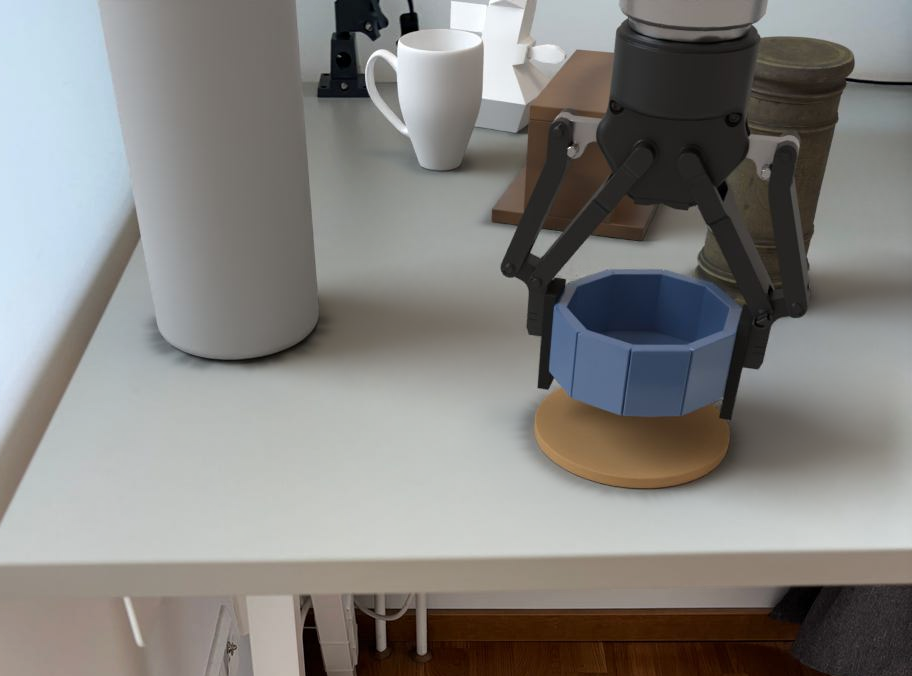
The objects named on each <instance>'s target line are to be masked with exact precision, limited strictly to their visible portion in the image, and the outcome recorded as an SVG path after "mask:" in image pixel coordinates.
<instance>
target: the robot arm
mask: <svg viewBox="0 0 912 676" xmlns="http://www.w3.org/2000/svg"><path fill="white" fill-rule="evenodd" d="M768 3H769V0H618V6H619V9H620V11H621V12H622V14H623V15H625V16H626V17H627V18H626V19H624V20H623V21H622V22H621V24H620V25H619V26H618V27H617V28H616V30H615V37H614V46H613V47H614V48H613V53H614V56H613V66H612V75H611V85H610V94H609V103H608V107H607V110H606V113H605V115H604V117H603V118H602V119H600V118H591V117H582V116H578V114H577V112H576V111H575V110H574V109H571V108H565V109H564V110H562V111H561V112H560V114H559V115H558V116H557V117H556V119H555V120H554V121H553V123H552V124H551V125H550V127H549V131H548V143H547V156H546V163H545V165H544V167H543V170H542V172H541V174H540V176H539V179H538V181H537V183H536V186H535V188H534V190H533V192H532V195H531V197H530V199H529V202H528V204H527V206H526V208H525V211H524V213H523V215H522V217H521V220H520V222H519V224H518V225H517V226H516V229H515V231H514V234H513V236H512V238H511V240H510V243H509V245H508V246H507V247H508V248H507V249H506V251H505V254H504V256H503V259H502V261H501V263H500V267H499V269H500V272H501V274H502V276H504V277H505V278H509V279H513V278H516V279H518V280H520V281H521V282H522V283H524V284H525V285H526V287H527V291H528V296H527V313H526V325H525V326H526V330H527V333H528V336H534V337H540V348H539V350H540V351H539V361H538V375H537V386H536V387H537V388H536V389H539V390H546V391H549V389H550V388H551V386H552V384H553V381H554V380H555V378H554V377H553V376H552V374H551V373H550V372H549V362H550V349H551V337H552V325H553V313H554V306H555V304H556V302H557V301H558V299H559V297H560V295H561V293H562V292H563V290H564V288H565V286H566V284H567V278H562V277H556V276H557V275H558V274H559V272H561V270H562V269H563V268H564V267H565V266H566V264H567V263H568V262H569V261H570V260H571V258H572V257H573V256H574V255H575V254H576V253H577V251H578V250H579V249H580V248H581V246H583V244H584V243H585V242H586V241H587V240H588V238H590V236H591V235H592V232H593V231H594V230H595V229H596V228H597V227H598V225H599V224H600V223H601V222H602V221H603V219H604V218H605V217H606V216H607V215H608V214H609V213H610V212H611V211H612V210H613V209H614V208H615V207H616V205H617V204H618V203H619V202H620V201H621V200H622V198H623V197H624V196H625V195H627V196H628V197H629V198H631V199H632V200H635V201H634V204H638V205H646V206H648V205H655V204H659V205H664V206H666V207H669V208H670V209H674V210H679V211H689V209H690V208H693V207H697V209H698V210H699V213H700V215H701V217H702V219H703V221H704V223H705V224H706V226H707V225H708V226H709V227H710V228H711V230H712V232H713V234H714V236H715V238H716V240H717V243H718V245H719V247H720V249H721V251H722V253H723V255H724V257H725V260H726V262H727V264H728V266H729V268H730V270H731V272H732V274H733V276H734V279H735V281H736V283H737V285H738V287H739V289H740V291H741V293H742V296H743V298H744V300H745V302H746V304H743V308H742V312H741V315H740V319H739V323H738V327H737V334H736V339H735V343H734V348H733V353H732V358H731V363H730V368H729V373H728V377H727V382H726V387H725V392H724V396H723V398H722V399H721V400H722V401H721V406H720V410H719V411H720V415H719V418H720V419H726V421H727V420H728V421H731V420H732V417H733V413H734V409H735V405H736V401H737V396H738V391H739V387H740V382H741V378H742V373H743V369H744V368H745V369H750V370H751V369H752V370H757V371H758V370H760V368H761V367H762V365H763V363H764V361H765V356H766V351H767V346H768V343H769V338H770V333H771V329H772V327H773V324H774V323H775V322H776V321H777V320H779V319H782V318H787V317H790V318H792V319H799V318H802V317H804V316H805V315H806V314H807V312H808V310H809V303H810V298H811V297H810V296H811V290H812V289H811V282H810V275H809V271H808V268H807V261H806V255H805V248H804V241H803V234H802V227H801V220H800V213H799V206H798V200H797V193H796V186H795V179H794V171H795V166H796V162H797V157H798V152H799V148H800V140H801V139H800V136H799V135H798V134H797V133H796V132H794V131H787V132H785V133H783V134H782V135H781V136H780V137H775V136H764V135H754V134H751V132H750V129H749V126H748V122H747V111H748V105H749V100H750V94H751V89H752V84H753V78H754V73H755V67H756V62H757V56H758V51H759V46H760V40H761V38H762V37H761V35H760V34H759V31H758V29H757V27H755V26H754V24H756V23H758V22H759V21H760V20H761V19H762V18H763V17H764V16H765V15H766V13H767V10H768V9H767V8H768V5H769V4H768ZM591 142H597V144H598V146H599V148H600V150H601V152H602V154H603V156H604V157H605V159H606V161H607V163H608V165H609V167H610V169H611V170H612V172H611V174H610V175H609V176H608V177H607V178H606V180H605V181H604V182H603V184H602V185H601V186H600V188H599V189H598V190H597V191H596V193H595V194H594V195H593V196H592V197H591V199H590V200H589V201H588V202H587V203H586V205H585V206H584V207H583V208H582V209H581V211H580V212H579V213H578V214H577V216H576V217H575V218H574V219H573V220H572V222H571V223H570V224H569V225H568V226H567V228H566V229H565V230H564V231H561V234H560V235H559V236H558V237H557V238H556V240H555V241H554V242H553V243H552V244H551V245H550V247H549V248H548V250H547V251H546V252H545V253H544V254H543V255H542V256H541V257H539V256H538V255H535V254H533V253H532V250H533V247H534V246H535V244H536V241H537V239H538V237H539V235H540V233H541V230H542V229H543V228H542V226H543V224H544V222H545V219H546V217H547V215H548V213H549V211H550V208H551V206H552V204H553V202H554V200H555V198H556V195H557V193H558V191H559V189H560V187H561V184H562V182H563V180H564V178H565V176H566V173H567V171H568V169H569V167H570V165H571V162H572V160H573V159H576V158H579V157H580V156H581V155H582V154H583V153H584V151H585V150H586V148H587V145H588V144H589V143H591ZM745 158H748V159H751V160H753V161H754V163H755V164H756V169H757V174H758V176H759V178H761V179H762V180H765V181H769V186H768V198H769V206H770V213H771V219H772V225H773V231H774V238H775V244H776V250H777V256H778V263H779V269H780V275H781V281H782V287H783V288H781V289H776V290H775V289H774V286H773V284H772V282H771V280H770V278H769V275H768V273H767V271H766V269H765V267H764V264H763V262H762V260H761V258H760V256H759V253H758V251H757V249H756V247H755V245H754V242H753V240H752V238H751V236H750V234H749V231H748V229H747V227H746V225H745V223H744V221H743V218H742V216H741V214H740V212H739V210H738V207H737V205H736V203H735V199H734V194H733V191H732V189H731V187H730V184H729V182H728V180H727V177H728V176H729V175H730V174H731V173H732V172H733V171H734V170H735V169H736V168H737V167H738V166H739V165H740V164H741V163H742V162H743V161H744V160H745Z"/></svg>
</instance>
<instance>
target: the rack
mask: <svg viewBox="0 0 912 676" xmlns="http://www.w3.org/2000/svg"><path fill="white" fill-rule="evenodd" d="M613 56H614V52H611V51H600V50H599V51H598V50H590V49H578V48H577V49H575V51H574V52H573V53H572V55H570V57H568V59H567V60H566V61H565V62H564V64H563V65H562V66H561V67H560V68H559V70H558V71H557V72H556V73H555V74H554V76H552V78H551V79H550V82H549V83H548V84H547V85H546V86H545V88H544V89H543V90H542V91H541V92H540V94H539V95H538V96H537V97H536V98H535V100H534V101H533V102H532V103H531V104H530V110H529V124H528V129H527V130H528V131H527V143H526V144H527V147H526V161H525V165H523V167H522V168H521V170H519V172H518V173H517V175H516V176H515V178H514V179H513V180H512V182H511V183H510V184H509V185H508V187H507V189H506V190H505V191H504V192H503V194H502V195H501V196H500V198H499V199H498V200H497V202H496V203H495V204H494V206H493V207H492V209H491V222H492V223H498V224H499V223H501V224H509V225H515V226H518V224H519V222H520V220H521V217H522V215H523V213H524V211H525V208H526V206H527V204H528V202H529V199H530V197H531V195H532V192H533V190H534V188H535V186H536V183H537V181H538V179H539V176H540V174H541V172H542V170H543V167H544V165H545V163H546V156H547V143H548V131H549V127H550V125H551V124H552V123H553V121H554V120H555V119H556V117H557V116H558V115H559V114H560V112H561V111H562V110H564V109H565V108H571V109H574V110H575V111H576V112H577V114H578V116H582V117H591V118H600V119H602V118H603V117H604V115H605V113H606V110H607V107H608V103H609V94H610V85H611V75H612V66H613ZM611 172H612V170H611V169H610V167H609V165H608V163H607V161H606V159H605V157H604V156H603V154H602V152H601V150H600V148H599V146H598V144H597V142H591V143H589V144H588V145H587V148H586V150H585V151H584V153H583V154H582V155H581V156H580V157H579V158H576V159H573V160H572V162H571V165H570V167H569V169H568V171H567V173H566V176H565V178H564V180H563V182H562V184H561V187H560V189H559V191H558V193H557V195H556V198H555V200H554V202H553V204H552V206H551V208H550V211H549V213H548V215H547V217H546V219H545V222H544V224H543V226H542V228H541V229H546V230H554V231H561V232H563V231H564V230H565V229H566V228H567V226H568V225H569V224H570V223H571V222H572V220H573V219H574V218H575V217H576V216H577V214H578V213H579V212H580V211H581V209H582V208H583V207H584V206H585V205H586V203H587V202H588V201H589V200H590V199H591V197H592V196H593V195H594V194H595V193H596V191H597V190H598V189H599V188H600V186H601V185H602V184H603V182H604V181H605V180H606V178H607V177H608V176H609V175H610V174H611ZM634 201H635V200H632V199H631V198H629V197H628V196H627V195H625V196H624V197H623V198H622V200H621V201H620V202H619V203H618V204H617V205H616V207H615V208H614V209H613V210H612V211H611V212H610V213H609V214H608V215H607V216H606V217H605V218H604V219H603V221H602V222H601V223H600V224H599V225H598V227H597V228H596V229H595V230H594V231H593V232H592V234H591V235H594V236H600V237H608V238H614V239H615V238H617V239H623V240H631V241H639V242H642V241H643V239H644V237H645V235H646V232H647V230H648V228H649V226H650V225H651V222H652V220H653V217H654V216H655V213H656V210H657V209H658V207H659V205H660V204H655V205H648V206H646V205H638V204H634Z"/></svg>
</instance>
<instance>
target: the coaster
mask: <svg viewBox="0 0 912 676" xmlns="http://www.w3.org/2000/svg"><path fill="white" fill-rule="evenodd" d="M719 415H720V410H719V409H718V407H717V406H716V405H714V403H711V404H709V405H706V406H704V407H702V408H699V409H697V410H695V411H692V412H690V413H688V414H685V415H683V416H681V415H680V416H659V417H640V416H623V414H622V415H617V414H615V413H612V412H609V411H606V410H603V409H600V408H597V407H594V406H592V405H589V404H586V403H583V402H581V401H578V400H575V399H572V397H569V396H568V394H567V393H566V392H565V391H564V389H563V388H562V387H561V386H560V388H558V389H555V390H554V391H552V392H551V393H550V394H549V395H547V396H546V397H545V398H544V399H543V400H542V401H541V402H540V404H539V406H538V407H537V410H536V412H535V415H534V427H533V431H534V437H535V441H536V442H537V445H538V446H539V448H540V449H541V451H542V452H543V453H544V454H545V455H546V456H547V457H548V459H550V460H551V461H552V462H553V463H555V464H556V465H557V466H559V467H561V468H562V469H564V470H565V471H568V472H569V473H572V474H573V475H575V476H578V477H581V478H583V479H585V480H588V481H591V482H596V483H599V484H603V485H608V486H613V487H619V488H628V489H629V488H630V489H659V488H667V487H674V486H678V485H683V484H687V483H690V482H692V481H695V480H697V479H698V480H699V479H700V478H701V477H703V476H706V475H707V474H709V473H710V472H712V471H713V470H714V469H716V468H717V467H718V465H720V464H721V462H722V461H723V460H724V458H725V457H726V454H727V451H728V449H729V445H730V437H731V433H730V426H729V423H728V421H727V420H726V419H720V418H719Z"/></svg>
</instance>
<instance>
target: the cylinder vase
mask: <svg viewBox="0 0 912 676" xmlns="http://www.w3.org/2000/svg"><path fill="white" fill-rule="evenodd" d="M296 1H297V0H97V6H98V11H99V17H100V22H101V27H102V33H103V38H104V39H103V40H104V44H105V49H106V54H107V60H108V67H109V69H110V70H109V71H110V77H111V81H112V87H113V91H114V98H115V102H116V108H117V115H118V119H119V124H120V130H121V136H122V141H123V147H124V151H125V157H126V163H127V168H128V173H129V179H130V184H131V189H132V195H133V201H134V206H135V211H136V217H137V223H138V228H139V233H140V238H141V244H142V249H143V255H144V261H145V265H146V271H147V277H148V281H149V282H148V283H149V287H150V293H151V297H152V304H153V308H154V315H155V318H156V319H155V320H156V324H157V328H158V331H159V333H160V334H161V336H162V337H163V339H165V340H166V342H167V343H169V344H170V345H171V346H173V347H174V348H176V349H178V350H179V351H182V352H184V353H187V354H188V355H189V354H190V355H192V356H196V357H201V358H205V359H213V360H227V361H228V360H234V361H235V360H248V359H254V358H261V357H265V356H270V355H274V354H276V353H279V352H282V351H285V350H287V349H289V348H291V347H293V346H295V345H296V344H298V343H300V342H301V341H303V340H304V339H305V338H306V337H308V336H309V335H310V333H312V331H313V330H314V329H315V327H316V325H317V323H318V320H319V317H320V305H319V291H318V279H317V266H316V264H317V263H316V251H315V237H314V226H313V212H312V198H311V197H312V196H311V186H310V185H311V183H310V173H309V171H310V170H309V159H308V146H307V132H306V120H305V118H306V117H305V107H304V94H303V79H302V68H301V67H302V66H301V53H300V52H301V51H300V41H299V39H300V38H299V28H298V13H297V2H296Z"/></svg>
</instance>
